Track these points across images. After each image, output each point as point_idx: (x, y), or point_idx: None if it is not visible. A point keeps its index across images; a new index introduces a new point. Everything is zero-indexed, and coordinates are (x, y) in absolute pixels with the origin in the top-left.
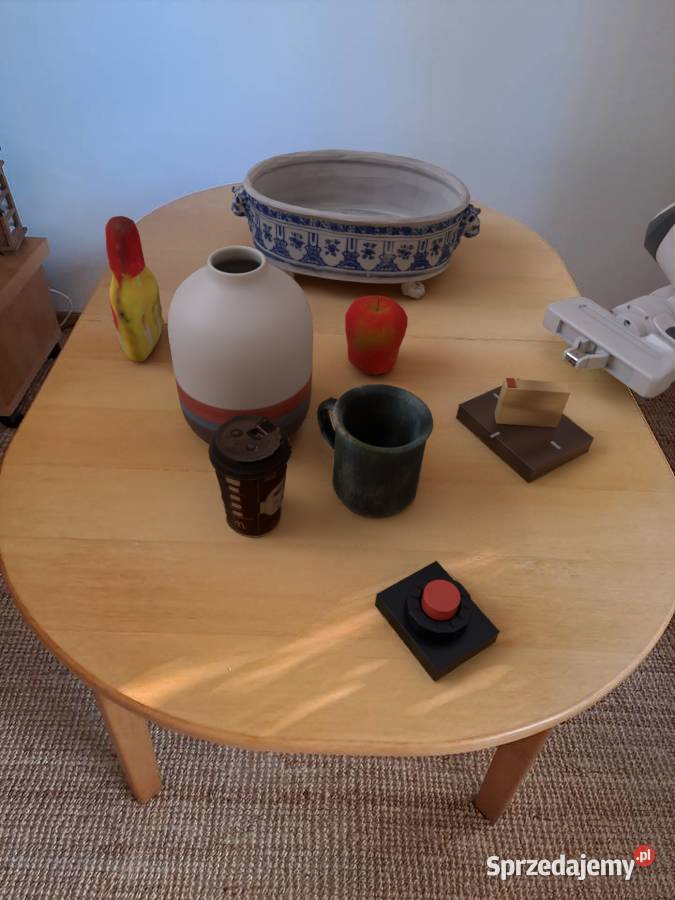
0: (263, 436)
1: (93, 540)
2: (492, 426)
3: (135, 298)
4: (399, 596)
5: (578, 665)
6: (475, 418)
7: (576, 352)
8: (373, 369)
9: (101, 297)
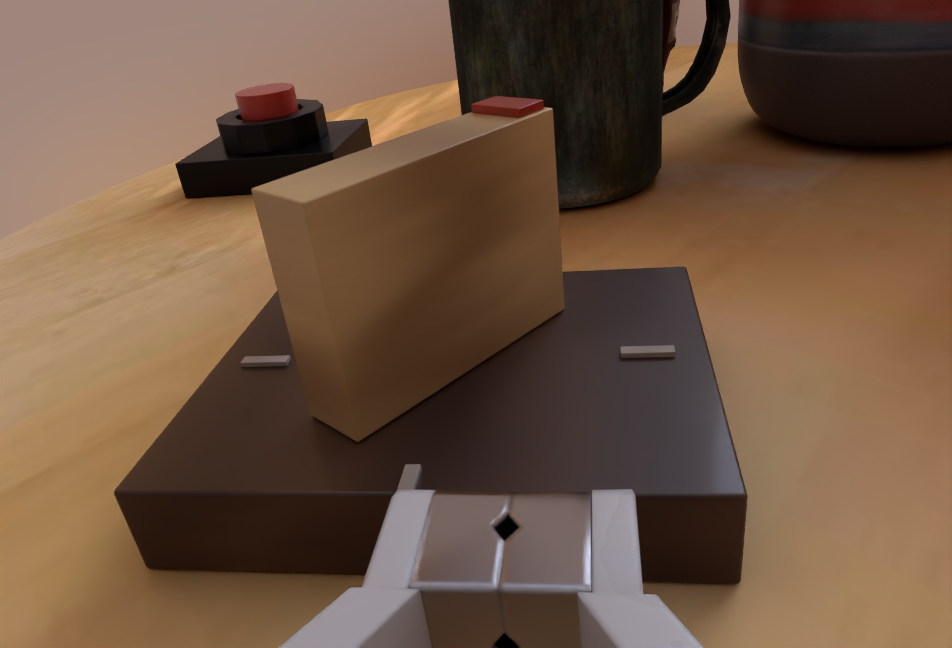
0: None
1: (685, 62)
2: None
3: None
4: (338, 127)
5: (39, 237)
6: (585, 271)
7: (524, 539)
8: None
9: None
